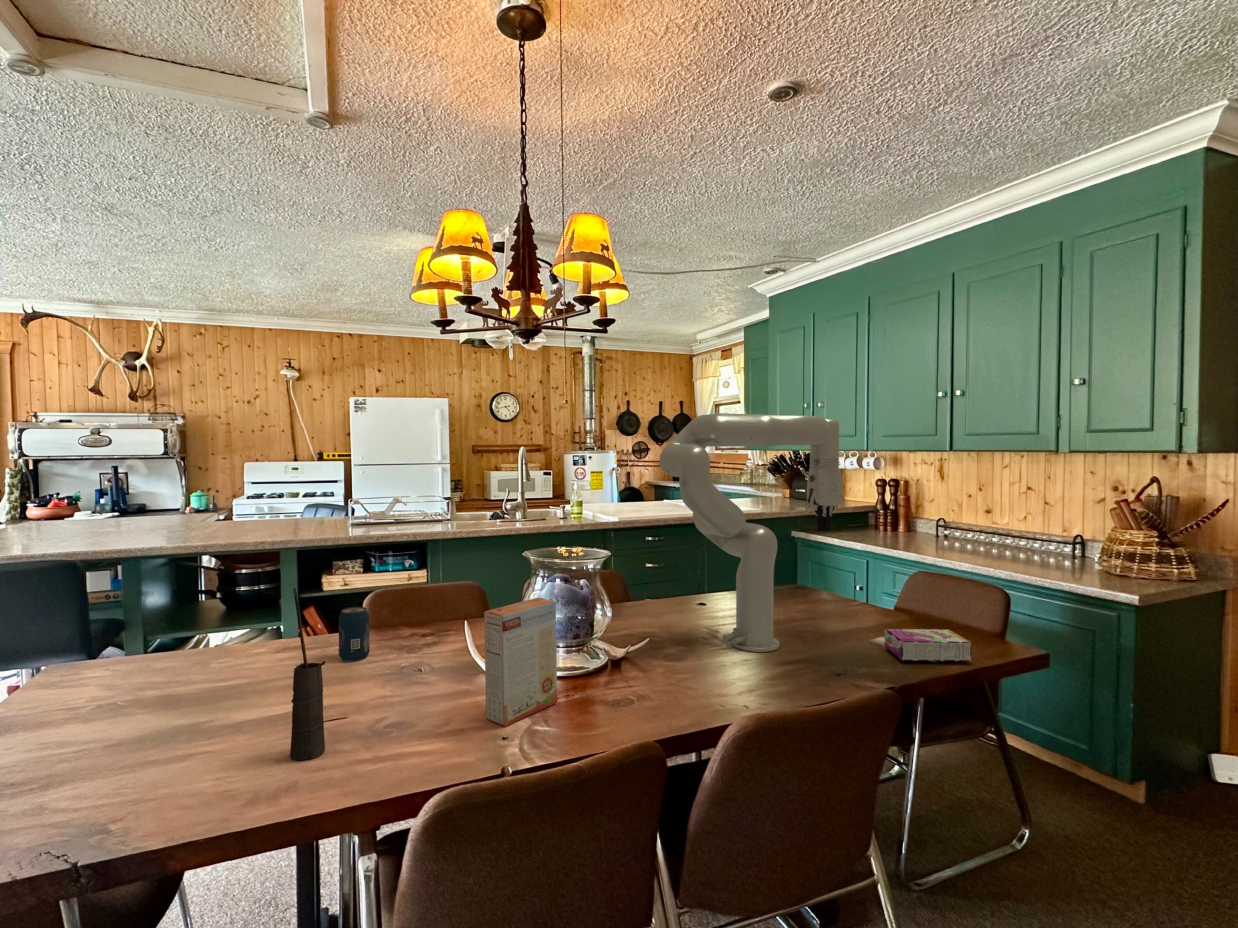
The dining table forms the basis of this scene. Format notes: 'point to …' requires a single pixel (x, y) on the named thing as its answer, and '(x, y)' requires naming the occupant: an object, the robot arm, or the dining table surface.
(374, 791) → the dining table surface
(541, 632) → the cracker box
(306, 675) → the butter churn
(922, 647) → the candy bar box
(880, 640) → the beige flat rectangular panel
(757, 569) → the robot arm
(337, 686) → the dining table surface
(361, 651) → the soda can
